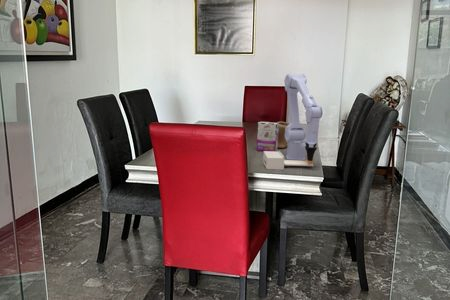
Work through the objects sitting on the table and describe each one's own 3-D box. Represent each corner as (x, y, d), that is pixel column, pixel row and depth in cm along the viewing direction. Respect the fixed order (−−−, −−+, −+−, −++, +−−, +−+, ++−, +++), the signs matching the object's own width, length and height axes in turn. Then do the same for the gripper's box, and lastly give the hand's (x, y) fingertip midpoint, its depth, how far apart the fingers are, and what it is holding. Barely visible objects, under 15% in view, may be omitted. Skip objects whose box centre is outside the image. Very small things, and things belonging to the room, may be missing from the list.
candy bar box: (277, 151, 227) (279, 122, 224) (275, 153, 223) (277, 123, 219) (258, 149, 231) (260, 121, 227) (256, 150, 226) (257, 122, 223)
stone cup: (288, 150, 231) (290, 124, 228) (268, 148, 235) (269, 122, 231) (291, 145, 245) (293, 121, 242) (272, 143, 249) (274, 119, 245)
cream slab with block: (309, 161, 200) (310, 152, 199) (313, 166, 192) (314, 155, 191) (281, 161, 199) (282, 151, 198) (284, 165, 192) (285, 155, 190)
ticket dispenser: (279, 162, 203) (279, 150, 201) (284, 169, 189) (284, 157, 188) (262, 161, 202) (263, 150, 201) (266, 169, 189) (267, 156, 187)
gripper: (304, 128, 200) (301, 154, 203) (303, 133, 186) (301, 161, 189) (318, 129, 199) (316, 156, 202) (318, 134, 185) (316, 163, 188)
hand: (309, 158), depth 196 cm, fingers open, 7 cm apart
